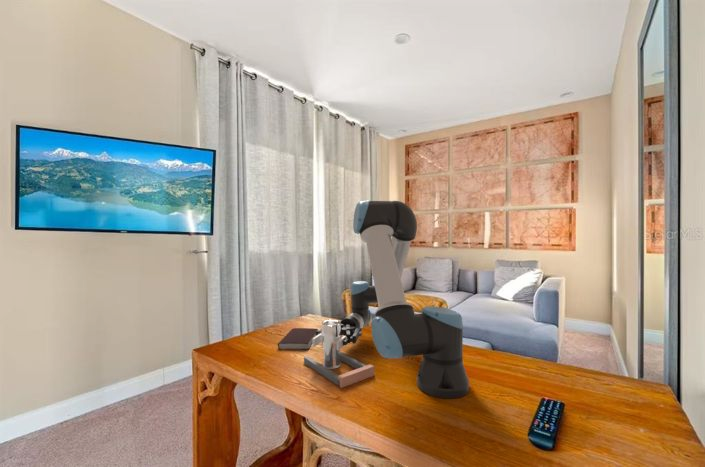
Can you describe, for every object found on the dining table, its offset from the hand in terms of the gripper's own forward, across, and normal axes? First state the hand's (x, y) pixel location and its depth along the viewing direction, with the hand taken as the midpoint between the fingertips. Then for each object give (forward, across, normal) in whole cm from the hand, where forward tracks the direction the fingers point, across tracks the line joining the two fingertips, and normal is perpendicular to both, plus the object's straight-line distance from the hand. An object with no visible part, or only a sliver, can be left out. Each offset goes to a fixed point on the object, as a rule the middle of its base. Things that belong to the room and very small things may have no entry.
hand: (325, 344), depth 108 cm
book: (-22, +24, -10) cm, 34 cm away
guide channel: (-3, -4, -9) cm, 10 cm away
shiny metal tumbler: (-5, 0, -9) cm, 10 cm away
